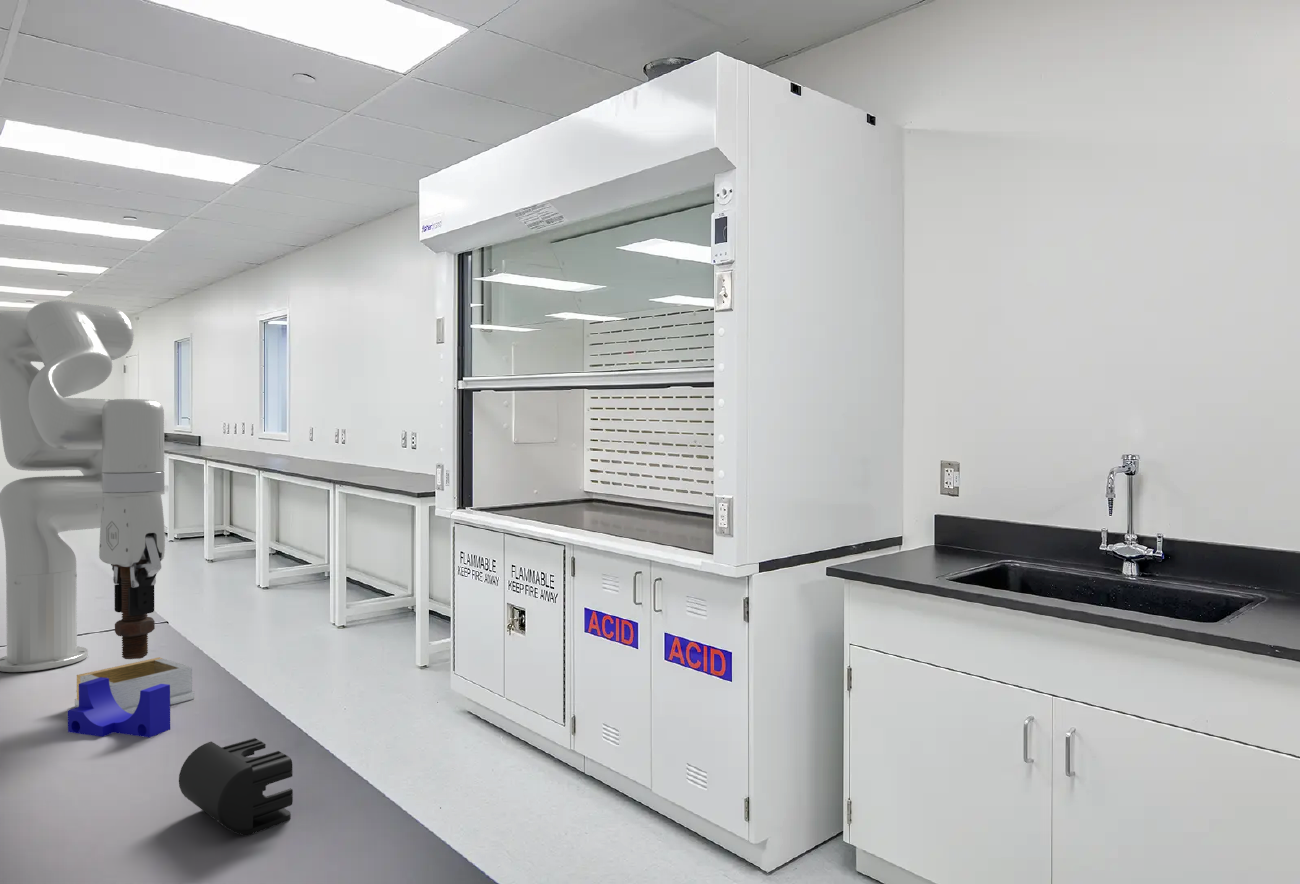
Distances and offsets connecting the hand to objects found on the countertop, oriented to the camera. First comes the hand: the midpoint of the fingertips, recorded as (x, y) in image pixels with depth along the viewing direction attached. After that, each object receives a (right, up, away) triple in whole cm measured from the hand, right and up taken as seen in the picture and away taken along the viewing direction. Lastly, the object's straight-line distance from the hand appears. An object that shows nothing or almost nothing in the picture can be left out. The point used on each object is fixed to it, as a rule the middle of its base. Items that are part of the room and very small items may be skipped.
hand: (134, 611), depth 114 cm
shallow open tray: (0, -13, 0) cm, 13 cm away
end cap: (+33, -13, -35) cm, 50 cm away
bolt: (0, -7, 0) cm, 7 cm away
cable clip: (+5, -14, -11) cm, 18 cm away
